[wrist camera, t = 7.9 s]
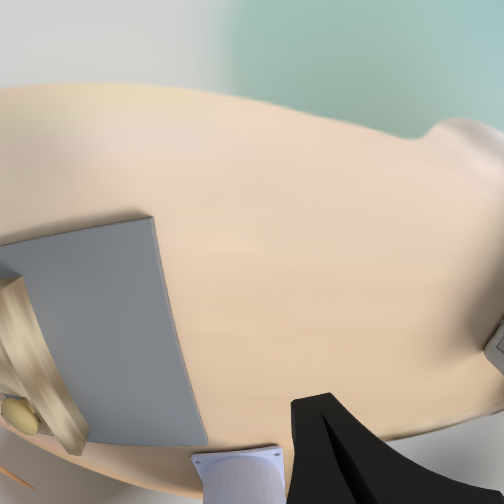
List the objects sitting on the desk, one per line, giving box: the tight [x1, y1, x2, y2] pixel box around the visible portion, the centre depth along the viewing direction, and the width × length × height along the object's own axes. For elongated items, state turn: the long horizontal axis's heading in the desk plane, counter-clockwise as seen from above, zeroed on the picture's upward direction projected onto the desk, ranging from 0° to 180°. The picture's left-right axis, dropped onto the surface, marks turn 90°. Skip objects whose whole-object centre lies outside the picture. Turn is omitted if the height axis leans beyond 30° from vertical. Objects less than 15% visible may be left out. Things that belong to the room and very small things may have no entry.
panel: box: [0, 276, 91, 456], centre depth 15 cm, size 14×10×3 cm
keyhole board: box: [0, 217, 208, 446], centre depth 16 cm, size 18×19×4 cm
